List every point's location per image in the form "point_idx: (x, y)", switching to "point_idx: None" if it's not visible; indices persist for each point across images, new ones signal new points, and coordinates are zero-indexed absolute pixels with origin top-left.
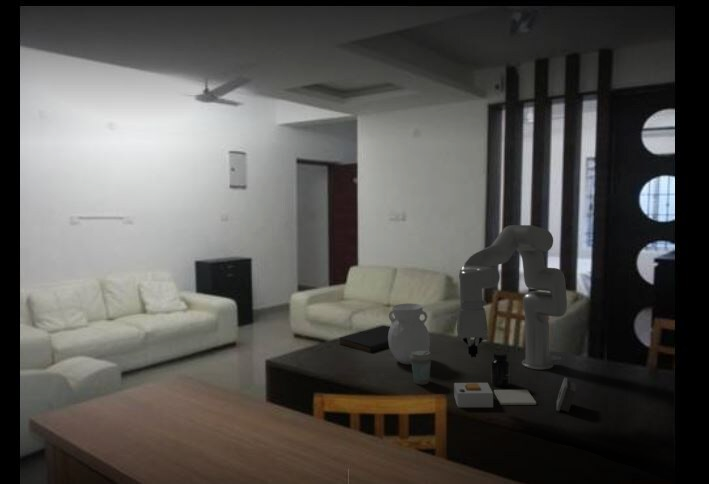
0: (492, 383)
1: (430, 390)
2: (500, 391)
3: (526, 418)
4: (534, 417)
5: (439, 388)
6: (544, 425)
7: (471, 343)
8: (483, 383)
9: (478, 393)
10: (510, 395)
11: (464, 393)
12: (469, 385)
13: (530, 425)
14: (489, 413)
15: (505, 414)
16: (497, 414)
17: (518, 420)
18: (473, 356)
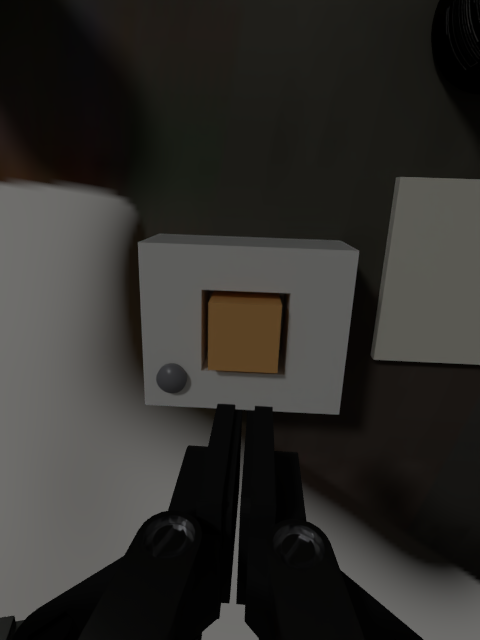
0: (433, 46)
1: (27, 131)
2: (429, 207)
3: (426, 485)
4: (463, 480)
5: (80, 97)
6: (466, 539)
7: (204, 621)
8: (328, 264)
9: None
10: (461, 271)
11: (183, 405)
12: (222, 339)
13: (414, 536)
14: (291, 435)
15: (355, 448)
16: (321, 446)
17: (386, 499)
18: (238, 493)
